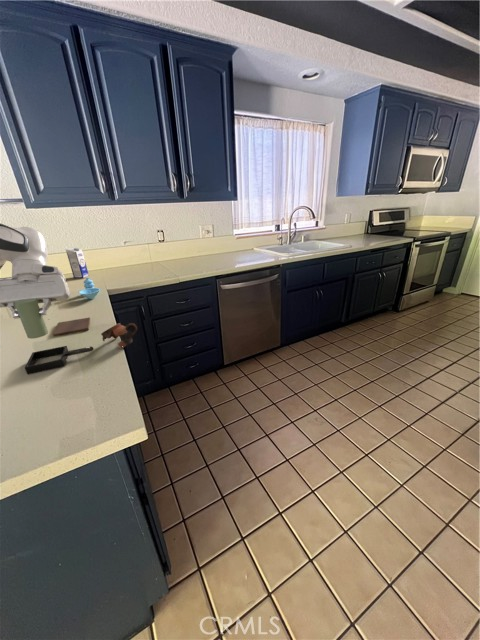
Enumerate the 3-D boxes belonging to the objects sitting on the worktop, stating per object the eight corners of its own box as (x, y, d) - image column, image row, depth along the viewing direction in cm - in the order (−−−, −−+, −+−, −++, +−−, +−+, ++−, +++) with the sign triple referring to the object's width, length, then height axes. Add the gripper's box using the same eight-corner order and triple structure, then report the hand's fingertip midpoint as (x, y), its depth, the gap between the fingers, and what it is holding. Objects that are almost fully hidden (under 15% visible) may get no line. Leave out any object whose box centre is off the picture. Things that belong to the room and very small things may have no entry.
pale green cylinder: (25, 340, 78) (11, 305, 73) (29, 332, 82) (17, 299, 77) (46, 336, 79) (34, 302, 75) (49, 329, 84) (38, 296, 79)
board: (53, 336, 102) (52, 334, 101) (58, 324, 112) (58, 322, 111) (88, 330, 106) (87, 328, 106) (90, 319, 116) (89, 317, 116)
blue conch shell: (102, 299, 140) (98, 283, 136) (80, 303, 135) (75, 286, 132) (101, 290, 154) (97, 275, 150) (81, 293, 150) (76, 278, 146)
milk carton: (80, 276, 187) (71, 247, 179) (89, 275, 187) (81, 247, 179) (73, 278, 181) (65, 249, 173) (83, 278, 181) (75, 248, 172)
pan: (27, 374, 79) (24, 367, 78) (35, 358, 87) (32, 352, 86) (94, 359, 86) (92, 353, 85) (95, 346, 94) (93, 340, 93)
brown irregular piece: (114, 354, 90) (99, 333, 88) (111, 354, 98) (97, 335, 96) (144, 334, 95) (131, 315, 94) (139, 336, 103) (127, 318, 102)
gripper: (-18, 273, 76) (-21, 317, 72) (63, 267, 82) (65, 306, 78) (-4, 284, 82) (-7, 325, 77) (70, 277, 88) (72, 315, 83)
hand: (30, 316), depth 77 cm, fingers closed on pale green cylinder, 5 cm apart
